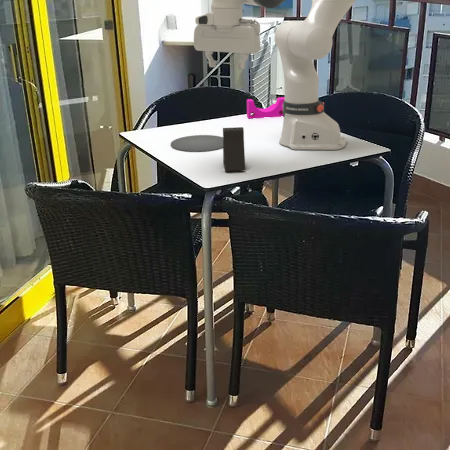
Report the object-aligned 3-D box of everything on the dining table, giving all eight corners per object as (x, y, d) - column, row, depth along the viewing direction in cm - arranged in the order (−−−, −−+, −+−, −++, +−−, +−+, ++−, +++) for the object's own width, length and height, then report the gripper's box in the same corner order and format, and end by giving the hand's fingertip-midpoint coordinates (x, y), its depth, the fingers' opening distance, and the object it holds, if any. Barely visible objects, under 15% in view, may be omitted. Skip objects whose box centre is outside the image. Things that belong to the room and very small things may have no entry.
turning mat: (236, 138, 223) (236, 136, 223) (218, 153, 206) (218, 152, 206) (183, 135, 229) (183, 133, 229) (161, 149, 212) (161, 148, 212)
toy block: (282, 114, 256) (282, 96, 254) (286, 118, 251) (286, 99, 248) (245, 117, 254) (245, 98, 251) (248, 120, 249) (248, 101, 246)
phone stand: (245, 171, 188) (244, 131, 184) (225, 171, 188) (223, 132, 183) (242, 162, 197) (241, 123, 192) (223, 163, 196) (222, 124, 192)
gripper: (264, 18, 179) (263, 68, 184) (201, 16, 188) (201, 64, 193) (255, 20, 174) (254, 71, 179) (190, 18, 182) (191, 67, 188)
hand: (226, 67), depth 186 cm, fingers open, 8 cm apart
